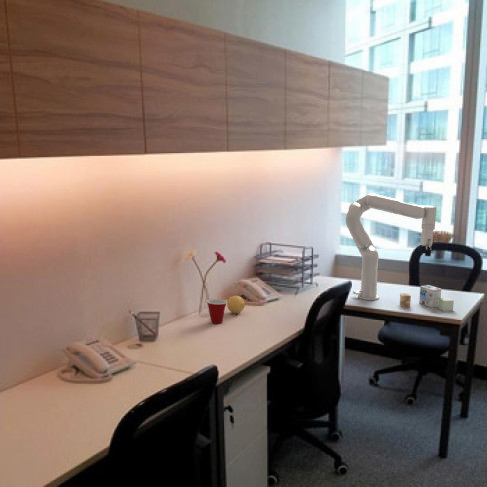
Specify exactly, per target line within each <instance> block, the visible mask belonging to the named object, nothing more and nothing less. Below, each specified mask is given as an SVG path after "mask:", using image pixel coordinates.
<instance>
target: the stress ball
mask: <svg viewBox="0 0 487 487" xmlns="http://www.w3.org/2000/svg"><path fill="white" fill-rule="evenodd" d="M245 306H246V305H245V300H244V298H243V297H242V296H239V295H233V296H231V297H229V298H228V300H227V303H226V307H227V309H228V310H229V312H230V313H232V314H234V315H237V314H239V313H241V312H243V310H244V309H245Z"/></svg>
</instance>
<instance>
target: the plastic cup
mask: <svg viewBox="0 0 487 487" xmlns="http://www.w3.org/2000/svg"><path fill="white" fill-rule="evenodd" d="M227 302H228V300H225V299H219V298H217V299H216V298H214V299H213V298H212V299H207V300H206V303H207V306H208V312H209V317H210V321H211V324H212V325H221V324H222V323H223V320H224V316H225V315H224V314H225V309H226V307H227Z"/></svg>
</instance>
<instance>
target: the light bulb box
mask: <svg viewBox="0 0 487 487" xmlns="http://www.w3.org/2000/svg"><path fill="white" fill-rule="evenodd" d="M439 298H442V288H440V287H437V286H434V285H430V284H426V285H420V286H419V301H418V303H419V304H420V305H423V306H425V307H429V308H438V304H439Z"/></svg>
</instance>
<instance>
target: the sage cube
mask: <svg viewBox="0 0 487 487" xmlns="http://www.w3.org/2000/svg"><path fill="white" fill-rule="evenodd" d="M454 303H455V300H454V299H452V298H450V297H441V298H439V304H438V307H437V308H438V309H440V310H441V311H442V310H443V312H445V311H448V310H449V311H450V310H453V311H454ZM449 311H448V312H449Z"/></svg>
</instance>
